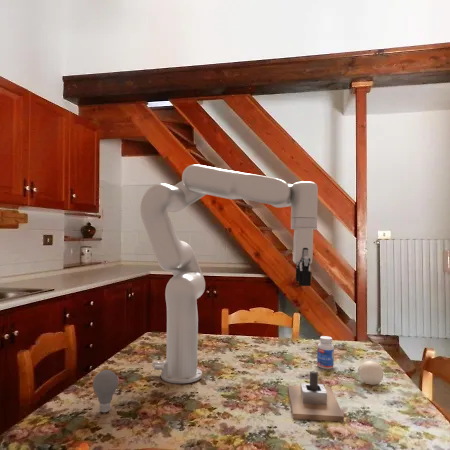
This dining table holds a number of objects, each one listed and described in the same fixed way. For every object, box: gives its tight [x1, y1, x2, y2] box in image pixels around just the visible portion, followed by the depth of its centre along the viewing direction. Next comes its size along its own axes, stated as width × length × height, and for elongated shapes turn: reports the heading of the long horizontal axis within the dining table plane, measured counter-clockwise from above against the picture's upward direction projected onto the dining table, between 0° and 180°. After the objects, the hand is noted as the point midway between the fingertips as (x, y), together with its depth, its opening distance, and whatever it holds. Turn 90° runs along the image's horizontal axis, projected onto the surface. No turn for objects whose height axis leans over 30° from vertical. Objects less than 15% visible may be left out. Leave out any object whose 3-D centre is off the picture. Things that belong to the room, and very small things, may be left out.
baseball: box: [357, 360, 384, 386], centre depth 121 cm, size 7×7×7 cm
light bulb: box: [92, 369, 119, 413], centre depth 99 cm, size 6×6×10 cm
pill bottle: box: [316, 335, 335, 370], centre depth 136 cm, size 6×5×10 cm
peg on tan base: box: [287, 370, 345, 422], centre depth 106 cm, size 12×18×8 cm, turn 175°
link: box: [300, 382, 327, 405], centre depth 106 cm, size 6×6×3 cm
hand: (302, 283), depth 117 cm, fingers open, 9 cm apart
